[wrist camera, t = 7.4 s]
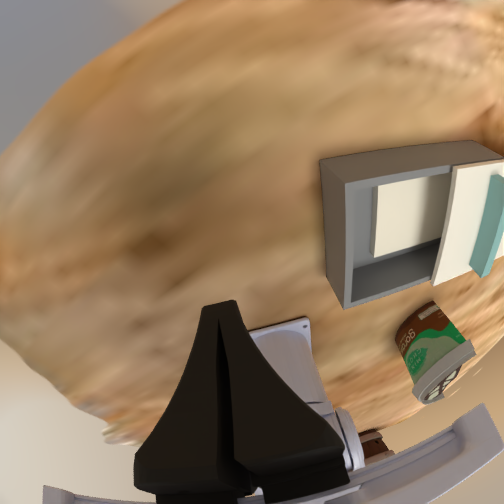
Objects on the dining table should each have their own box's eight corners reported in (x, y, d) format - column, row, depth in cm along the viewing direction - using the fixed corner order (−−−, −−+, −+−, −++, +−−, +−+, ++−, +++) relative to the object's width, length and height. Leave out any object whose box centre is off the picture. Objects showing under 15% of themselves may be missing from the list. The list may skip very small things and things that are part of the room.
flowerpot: (338, 437, 61) (360, 504, 45) (391, 419, 62) (416, 480, 46) (328, 451, 69) (345, 508, 53) (375, 436, 71) (395, 489, 55)
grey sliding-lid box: (456, 236, 27) (479, 259, 23) (326, 276, 26) (343, 309, 23) (472, 140, 20) (504, 157, 17) (319, 160, 20) (344, 183, 16)
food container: (396, 307, 31) (437, 374, 23) (436, 292, 32) (478, 352, 24) (381, 361, 39) (407, 417, 31) (414, 347, 39) (443, 399, 31)
